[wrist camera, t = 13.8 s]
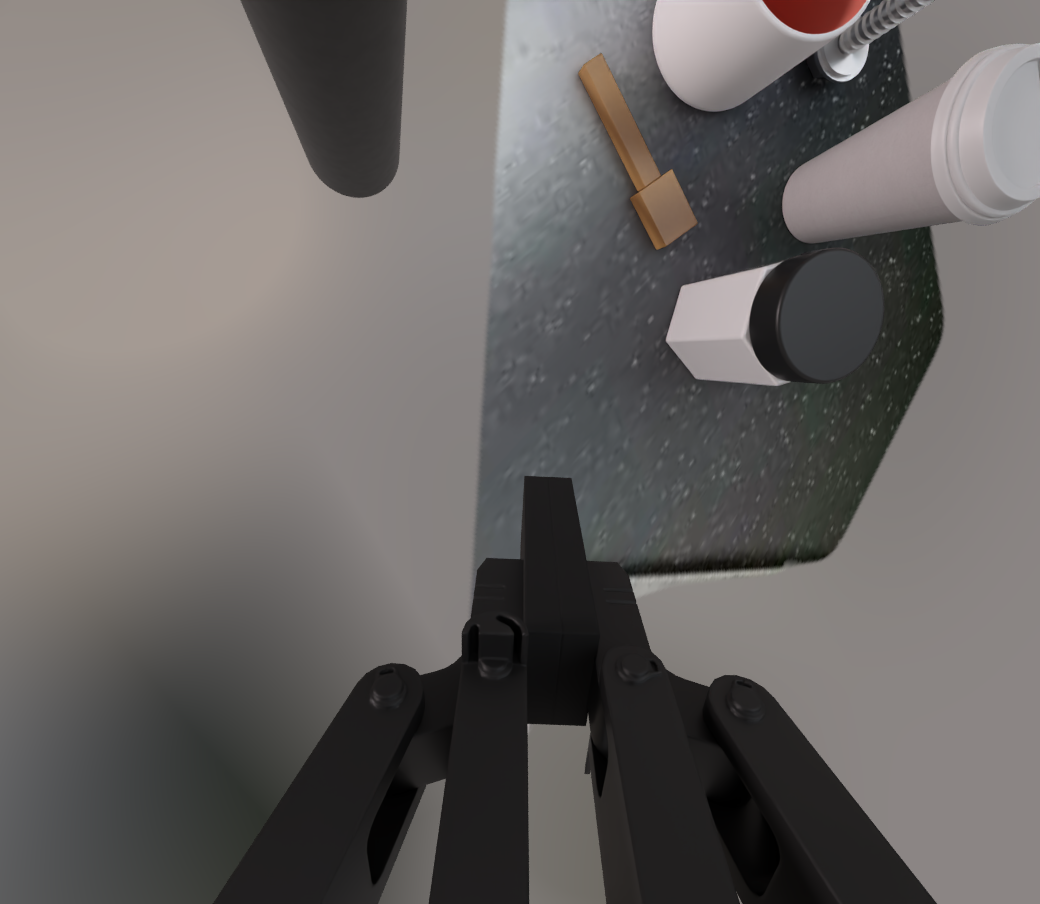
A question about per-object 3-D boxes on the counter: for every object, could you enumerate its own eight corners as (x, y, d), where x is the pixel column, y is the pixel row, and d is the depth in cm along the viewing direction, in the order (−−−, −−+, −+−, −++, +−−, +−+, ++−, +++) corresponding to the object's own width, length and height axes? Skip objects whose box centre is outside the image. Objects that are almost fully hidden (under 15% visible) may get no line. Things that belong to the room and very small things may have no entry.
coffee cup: (853, 261, 44) (1079, 217, 29) (763, 263, 41) (960, 216, 27) (864, 143, 42) (1111, 33, 27) (769, 137, 39) (985, 15, 25)
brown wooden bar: (568, 79, 35) (576, 67, 33) (603, 56, 35) (612, 43, 33) (656, 250, 39) (666, 246, 37) (687, 227, 39) (698, 223, 38)
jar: (771, 331, 43) (909, 323, 31) (708, 398, 42) (825, 415, 31) (714, 250, 40) (843, 209, 29) (646, 322, 40) (750, 309, 28)
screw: (794, 26, 38) (844, 25, 39) (795, 96, 39) (844, 93, 40) (988, -131, 26) (1054, -127, 27) (982, -22, 27) (1045, -22, 28)
